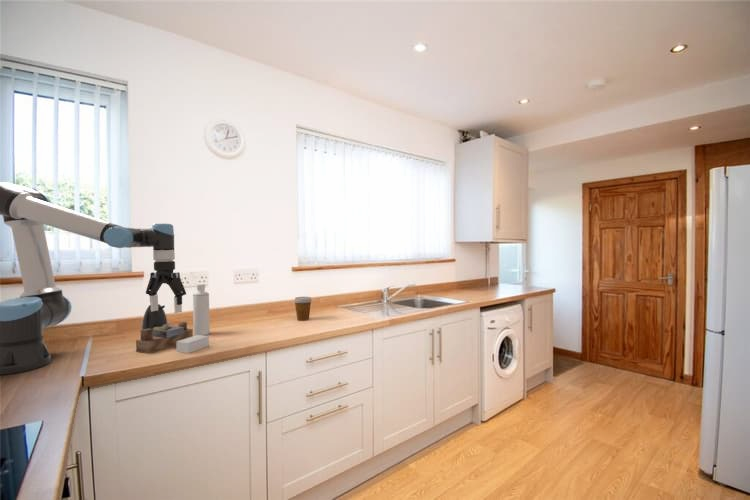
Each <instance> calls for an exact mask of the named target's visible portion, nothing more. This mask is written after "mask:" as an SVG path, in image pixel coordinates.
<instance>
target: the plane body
mask: <svg viewBox="0 0 750 500" xmlns="http://www.w3.org/2000/svg"><path fill="white" fill-rule="evenodd" d="M169 326H170V325H169V323H168V324H165V325H163V327H164V330H167V329H169ZM178 327H184V333H183V334H179V335H176V336H172V337H169V338H162V337H154V336H153V335H152V329H149V328H148V329H144V330H142V329H141V330H140V338H139V339H135V347H136V348H135V350H136V352H137V353H144V354H150V353H151V352H152V353H154V352H157V351H161V350H164V349H167V348H170V347H174V346H177V345H176V341H180V340H183V339H186V338H189V337H193V336H194V328H188V322H187V321H181V322H179V323H178Z"/></svg>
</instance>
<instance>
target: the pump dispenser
mask: <svg viewBox="0 0 750 500" xmlns="http://www.w3.org/2000/svg"><path fill="white" fill-rule="evenodd" d="M165 307H166V306H165V305H161V304H160V303H158V310H157V311H151V304H150V305H148V307H147V308H146V309H145V312H144V314H143V317H142V322H141V330H144V329H148V328H149V329H152V328H154V327H157V326H158V327H160V326H163V325H165V324H169V323H168V322H169V321H168V317H167V314H166V311H165V310H164V309H165Z"/></svg>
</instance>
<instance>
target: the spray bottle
mask: <svg viewBox="0 0 750 500" xmlns="http://www.w3.org/2000/svg"><path fill="white" fill-rule="evenodd" d="M192 310H193V311H192V313H193V324H192V325H193V336H196V335H203V336H209V335H210V333H211V332H210V331H211V330H210V329H211V327H210V325H211V324H210V293H208V291H206V283H196V292H194V294H192Z"/></svg>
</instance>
